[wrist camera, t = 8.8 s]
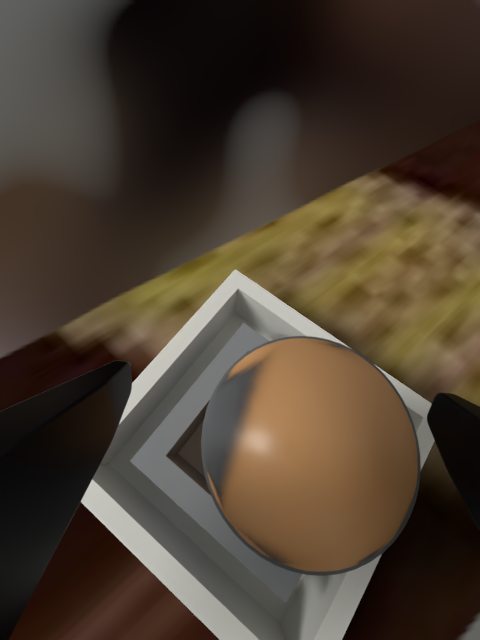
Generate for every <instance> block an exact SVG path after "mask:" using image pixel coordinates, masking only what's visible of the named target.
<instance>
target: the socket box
mask: <svg viewBox="0 0 480 640" xmlns="http://www.w3.org/2000/svg"><path fill="white" fill-rule="evenodd" d="M290 336H311V337H318V338H323V339H328V340H331V341H334V342H337V343H340V344H342V345H344V346H347V345H345V344H344V343H342V342H341V341H339V340H338V339H336V338H335V337H334V336H332V335H331V334H329V333H328V332H326V331H325V330H323V329H322V328H320V327H319V326H317V325H316V324H315V323H313V322H312V321H310V320H309V319H307V318H306V317H304V316H303V315H301V314H300V313H298V312H297V311H296V310H294V309H293V308H291V307H290V306H288V305H287V304H285V303H284V302H282V301H281V300H279V299H278V298H277V297H275V296H274V295H272V294H271V293H269V292H268V291H266V290H265V289H263V288H262V287H260V286H259V285H258V284H256V283H255V282H253V281H252V280H250V279H249V278H247V277H246V276H244V275H243V274H241V273H240V272H239V271H237V270H236V269H235V270H234V271H233V272H232V273H231V274H230V276H229V277H228V278H227V279H226V280H225V281H224V282H223V283H222V284H221V286H220V287H219V288H218V289H217V290H216V291H215V292H214V293H213V294H212V295H211V297H210V298H209V299H208V300H207V301H206V302H205V303H204V304H203V305H202V307H201V308H200V309H199V310H198V311H197V312H196V313H195V314H194V315H193V317H192V318H191V319H190V320H189V321H188V322H187V323H186V324H185V325H184V327H183V328H182V329H181V330H180V331H179V332H178V333H177V334H176V335H175V336H174V338H173V339H172V340H171V341H170V342H169V343H168V344H167V345H166V346H165V348H164V349H163V350H162V351H161V352H160V353H159V354H158V355H157V356H156V358H155V359H154V360H153V361H152V362H151V363H150V364H149V365H148V366H147V367H146V369H145V370H144V371H143V372H142V373H141V374H140V375H139V376H138V377H137V379H136V380H135V381H134V382H133V383H132V389H131V394H130V396H129V399H128V402H127V404H126V407H125V409H124V412H123V415H122V417H121V420H120V423H119V425H118V428H117V430H116V433H115V435H114V438H113V440H112V442H111V444H110V446H109V448H108V450H107V452H106V454H105V456H104V458H103V460H102V462H101V463H100V465H99V467H98V469H97V471H96V473H95V475H94V477H93V479H92V481H91V483H90V485H89V486H88V488H87V490H86V492H85V494H84V496H83V498H82V500H81V502H82V503H83V504H84V505H85V506H86V507H87V508H88V509H89V510H90V511H91V512H92V513H93V514H94V515H95V516H96V517H97V518H98V519H99V520H100V521H101V522H102V523H103V524H104V525H105V526H106V527H107V528H108V529H109V530H110V531H111V532H112V533H113V534H114V535H115V536H116V537H117V538H118V539H119V540H120V541H121V542H122V543H123V544H124V545H125V546H126V547H127V548H128V549H129V550H130V551H131V552H132V553H133V554H134V555H135V556H136V557H137V558H138V559H139V560H140V561H141V562H142V563H143V564H144V565H145V566H146V567H147V568H148V569H149V570H150V571H151V572H152V573H153V574H154V575H155V576H156V577H157V578H158V579H159V580H160V581H161V582H162V583H163V584H164V585H165V586H166V587H167V588H168V589H169V590H170V591H171V592H172V593H173V594H174V595H175V596H176V597H177V598H178V599H179V600H180V601H181V602H182V603H183V604H184V605H185V606H186V607H187V608H188V609H189V610H190V611H191V612H192V613H193V614H194V615H195V616H196V617H198V618H199V619H200V620H201V621H202V622H203V623H204V624H205V625H206V626H207V627H208V628H209V629H210V630H211V631H212V632H213V633H214V634H215V635H216V636H217V637H218V638H219V639H220V640H342V639H343V636H344V634H345V632H346V630H347V628H348V626H349V624H350V621H351V619H352V617H353V615H354V613H355V611H356V609H357V606H358V604H359V602H360V600H361V598H362V596H363V594H364V591H365V589H366V587H367V585H368V583H369V581H370V579H371V576H372V574H373V572H374V570H375V568H376V566H377V564H378V561H379V559H380V557H381V555H382V554H381V555H380V556H378V557H377V558H375V559H374V560H372V561H371V562H370V563H368V564H366V565H363V566H361V567H359V568H357V569H355V570H352V571H348V572H345V573H341V574H335V575H326V576H318V575H305V574H301V573H296V572H291V571H289V570H286V569H283V568H281V567H278V566H276V565H274V564H272V563H270V562H268V561H267V560H265V559H263V558H261V557H260V556H258V555H257V554H256V553H255V552H253V551H252V550H251V549H249V548H248V547H247V546H246V545H245V544H244V543H243V542H242V541H241V540H240V539H239V538H238V537H237V536H236V535H235V534H234V533H233V532H232V530H231V529H230V528H229V526H228V525H227V524H226V522H225V521H224V520H223V518H222V516H221V514H220V512H219V511H218V509H217V507H216V505H215V503H214V501H213V498H212V496H211V494H210V491H209V489H208V485H207V481H206V478H205V474H204V469H203V462H202V448H201V438H202V428H203V422H204V418H205V413H206V409H207V407H208V404H209V401H210V398H211V396H212V394H213V392H214V390H215V388H216V386H217V384H218V383H219V381H220V380H221V378H222V377H223V375H224V374H225V373H226V372H227V370H228V369H229V368H230V367H231V366H232V365H233V364H234V363H235V362H236V361H237V360H238V359H239V358H241V357H242V356H243V355H244V354H246V353H247V352H249V351H250V350H252V349H254V348H255V347H257V346H260V345H262V344H264V343H266V342H269V341H272V340H275V339H279V338H284V337H290ZM347 347H348V346H347ZM349 348H350V347H349ZM375 366H376V365H375ZM376 367H377V366H376ZM377 368H379V367H377ZM379 369H380V368H379ZM380 370H381V371H382V372H383V373H384V374H385V376H386V377H387V378H388V379H389V380H390V381H391V383H392V384H393V385H394V387H395V388H396V390H397V391H398V393H399V394H400V396H401V397H402V399H403V401H404V403H405V405H406V407H407V409H408V411H409V413H410V416H411V418H412V421H413V423H414V427H415V430H416V434H417V438H418V444H419V450H420V465H421V469H422V467H423V465H424V463H425V461H426V459H427V456H428V454H429V452H430V450H431V448H432V446H433V444H434V441H435V440H434V438H433V435H432V433H431V430H430V428H429V426H428V423H427V414H428V412H429V409H430V407H431V405H432V404H431V403H430V402H429V401H427V400H426V399H424V398H423V397H421V396H420V395H418V394H417V393H415V392H414V391H412V390H411V389H410V388H408V387H407V386H405V385H404V384H402V383H401V382H399V381H398V380H396V379H395V378H393V377H392V376H391V375H389V374H388V373H386V372H385V371H383V370H382V369H380Z"/></svg>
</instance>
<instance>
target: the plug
mask: <svg viewBox="0 0 480 640" xmlns="http://www.w3.org/2000/svg"><path fill="white" fill-rule="evenodd" d="M201 448H202V462H203V469H204V474H205V478H206V481H207V485H208V489H209V491H210V494H211V496H212V498H213V501H214V503H215V505H216V507H217V509H218V511H219V512H220V514H221V516H222V518H223V520H224V521H225V522H226V524H227V525H228V526H229V528H230V529H231V530H232V532H233V533H234V534H235V535H236V536H237V537H238V538H239V539H240V540H241V541H242V542H243V543H244V544H245V545H246V546H247V547H248V548H249V549H251V550H252V551H253V552H255V553H256V554H257V555H258V556H260V557H261V558H263V559H265V560H267V561H268V562H270V563H272V564H274V565H276V566H278V567H281V568H283V569H286V570H289V571H291V572H296V573H301V574H305V575H318V576H326V575H335V574H341V573H345V572H348V571H352V570H355V569H357V568H359V567H361V566H363V565H366V564H368V563H370V562H371V561H372V560H374V559H375V558H377V557H378V556H380V555H381V554H382V553H383V552H384V551H385V550H386V549H387V548H388V547H390V546H391V545H392V544H393V543H394V541H395V540H396V539H397V537H398V536H399V535H400V533H401V532H402V531H403V529H404V527H405V525H406V523H407V521H408V520H409V518H410V516H411V513H412V510H413V508H414V505H415V502H416V498H417V494H418V489H419V483H420V472H421V465H420V450H419V444H418V438H417V434H416V430H415V427H414V423H413V421H412V418H411V416H410V413H409V411H408V409H407V407H406V405H405V403H404V401H403V399H402V397H401V396H400V394H399V393H398V391H397V390H396V388H395V387H394V385H393V384H392V383H391V381H390V380H389V379H388V378H387V377H386V376H385V374H384V373H383V372H382V371H381V370H380V369H379V368H377V367H376V366H375V365H374V364H373V363H372V362H371V361H369V360H368V359H367V358H365V357H364V356H363V355H361V354H359V353H358V352H356V351H354V350H353V349H351V348H349V347H347V346H344V345H342V344H340V343H337V342H334V341H331V340H328V339H323V338H318V337H311V336H290V337H284V338H279V339H275V340H272V341H269V342H266V343H264V344H262V345H260V346H257V347H255V348H254V349H252V350H250V351H249V352H247V353H246V354H244V355H243V356H242V357H241V358H239V359H238V360H237V361H236V362H235V363H234V364H233V365H232V366H231V367H230V368H229V369H228V370H227V372H226V373H225V374H224V375H223V377H222V378H221V380H220V381H219V383H218V384H217V386H216V388H215V390H214V392H213V394H212V396H211V398H210V401H209V404H208V407H207V409H206V413H205V418H204V422H203V428H202V438H201Z"/></svg>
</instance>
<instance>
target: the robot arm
mask: <svg viewBox="0 0 480 640" xmlns="http://www.w3.org/2000/svg"><path fill="white" fill-rule="evenodd" d="M131 389H132V379H131V365H130V363H129V362H127V361H113V362H111V363H108V364H106V365H104V366H102V367H99V368H97V369H95V370H93V371H90V372H88V373H86V374H84V375H81V376H79V377H77V378H75V379H72V380H70V381H68V382H66V383H63V384H61V385H59V386H57V387H54V388H52V389H50V390H48V391H45V392H43V393H41V394H39V395H36V396H34V397H32V398H30V399H27V400H25V401H23V402H21V403H18V404H16V405H14V406H12V407H9V408H7V409H5V410H3V411H0V640H9V638H10V636H11V634H12V632H13V630H14V628H15V626H16V624H17V622H18V621H19V619H20V617H21V615H22V613H23V611H24V609H25V607H26V605H27V603H28V601H29V600H30V598H31V596H32V594H33V592H34V590H35V588H36V586H37V584H38V582H39V580H40V578H41V577H42V575H43V573H44V571H45V569H46V567H47V565H48V563H49V561H50V559H51V557H52V555H53V554H54V552H55V550H56V548H57V546H58V544H59V542H60V540H61V538H62V536H63V534H64V532H65V531H66V529H67V527H68V525H69V523H70V521H71V519H72V517H73V515H74V513H75V511H76V509H77V508H78V506H79V504H80V502H81V500H82V498H83V496H84V494H85V492H86V490H87V488H88V486H89V485H90V483H91V481H92V479H93V477H94V475H95V473H96V471H97V469H98V467H99V465H100V463H101V462H102V460H103V458H104V456H105V454H106V452H107V450H108V448H109V446H110V444H111V442H112V440H113V438H114V435H115V433H116V430H117V428H118V425H119V423H120V420H121V417H122V415H123V412H124V409H125V407H126V404H127V402H128V399H129V396H130V394H131ZM427 423H428V426H429V428H430V430H431V433H432V435H433V438H434V440H435V442H436V445H437V447H438V449H439V452H440V454H441V457H442V459H443V461H444V464H445V466H446V468H447V470H448V473H449V475H450V477H451V479H452V481H453V482H454V484H455V486H456V488H457V490H458V492H459V494H460V496H461V497H462V499H463V501H464V503H465V505H466V507H467V509H468V511H469V512H470V514H471V516H472V518H473V520H474V522H475V524H476V525H477V527H478V529H479V531H480V407H479V406H477V405H475V404H473V403H471V402H469V401H467V400H465V399H463V398H461V397H459V396H457V395H455V394H450V393H438V394H437V395H436V396H435V397H434V400H433V402H432V405H431V407H430V409H429V412H428V414H427Z"/></svg>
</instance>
